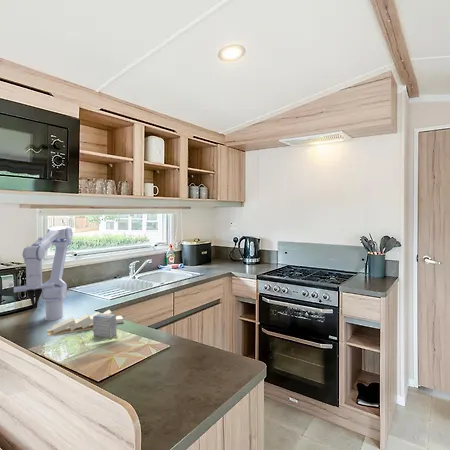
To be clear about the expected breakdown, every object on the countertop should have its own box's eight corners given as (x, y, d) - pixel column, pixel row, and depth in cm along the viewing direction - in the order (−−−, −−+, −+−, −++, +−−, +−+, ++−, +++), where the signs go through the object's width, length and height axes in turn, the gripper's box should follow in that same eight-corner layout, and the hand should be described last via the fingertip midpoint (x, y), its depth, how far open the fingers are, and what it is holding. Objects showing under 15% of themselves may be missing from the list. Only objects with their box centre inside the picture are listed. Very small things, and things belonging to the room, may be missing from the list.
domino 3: (79, 322, 144) (98, 311, 148) (81, 325, 144) (100, 314, 148) (81, 325, 140) (100, 314, 143) (83, 329, 140) (102, 317, 144)
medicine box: (117, 335, 135) (116, 314, 134) (110, 339, 130) (110, 317, 130) (100, 333, 137) (99, 312, 137) (93, 337, 133) (92, 316, 132)
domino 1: (52, 326, 139) (73, 316, 143) (53, 330, 139) (74, 320, 143) (52, 329, 134) (74, 319, 138) (54, 333, 135) (75, 323, 139)
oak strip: (46, 332, 139) (46, 330, 139) (106, 322, 151) (106, 320, 151) (47, 338, 132) (47, 336, 132) (110, 327, 144) (110, 325, 144)
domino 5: (101, 318, 149) (120, 315, 153) (101, 322, 149) (120, 319, 153) (103, 321, 144) (123, 318, 149) (103, 325, 144) (123, 322, 149)
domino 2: (68, 323, 142) (87, 313, 145) (70, 327, 142) (89, 316, 146) (69, 327, 137) (89, 316, 141) (71, 331, 138) (91, 319, 142)
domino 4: (91, 320, 146) (109, 309, 150) (92, 323, 147) (110, 312, 151) (92, 323, 142) (111, 312, 146) (94, 326, 143) (113, 315, 146)
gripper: (13, 278, 131) (13, 312, 131) (54, 274, 138) (55, 307, 139) (13, 275, 137) (14, 308, 137) (53, 272, 144) (54, 303, 145)
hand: (34, 307), depth 138 cm, fingers closed
